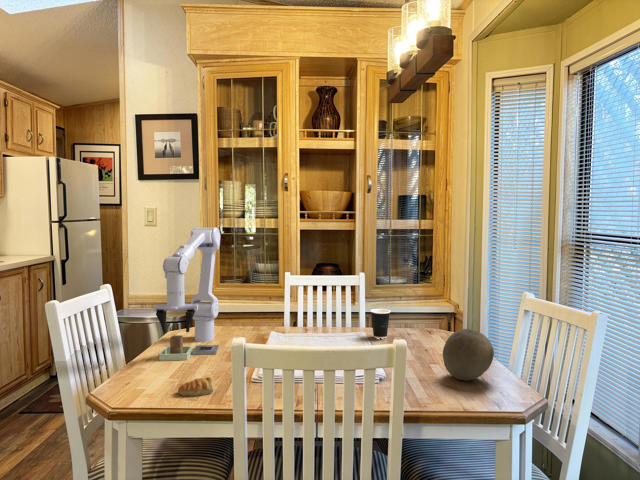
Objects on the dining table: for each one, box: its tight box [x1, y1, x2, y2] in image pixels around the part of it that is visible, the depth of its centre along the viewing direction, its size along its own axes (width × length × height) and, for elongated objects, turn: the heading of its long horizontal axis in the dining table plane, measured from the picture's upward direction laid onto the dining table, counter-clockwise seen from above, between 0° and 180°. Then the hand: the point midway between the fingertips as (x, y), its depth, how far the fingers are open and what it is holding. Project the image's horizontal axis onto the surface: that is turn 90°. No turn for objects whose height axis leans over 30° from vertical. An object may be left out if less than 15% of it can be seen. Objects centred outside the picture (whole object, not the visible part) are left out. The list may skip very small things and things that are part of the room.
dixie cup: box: [370, 308, 391, 339], centre depth 185 cm, size 8×8×11 cm
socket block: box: [191, 344, 220, 356], centre depth 163 cm, size 8×8×2 cm
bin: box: [158, 345, 193, 362], centre depth 157 cm, size 9×9×3 cm
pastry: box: [177, 376, 215, 397], centre depth 128 cm, size 9×7×4 cm
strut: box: [169, 334, 184, 354], centre depth 157 cm, size 3×3×7 cm
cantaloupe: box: [442, 328, 495, 382], centre depth 139 cm, size 14×14×15 cm
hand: (176, 331), depth 157 cm, fingers open, 7 cm apart
